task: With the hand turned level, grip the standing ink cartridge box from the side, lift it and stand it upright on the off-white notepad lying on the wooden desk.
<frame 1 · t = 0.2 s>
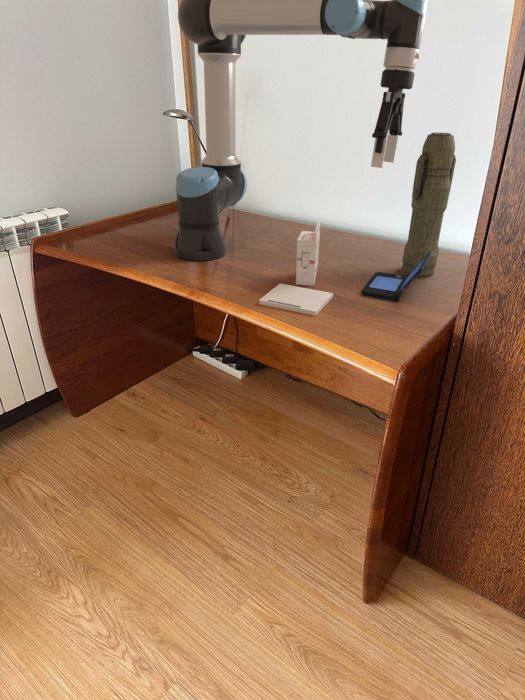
hand: (382, 164, 129), 27 cm above the table, tool pointing down, fingers open, 13 cm apart
handheld game console: (393, 291, 127), on the table
ink cartridge box: (306, 280, 132), on the table
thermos: (417, 272, 138), on the table
notepad: (296, 300, 119), on the table
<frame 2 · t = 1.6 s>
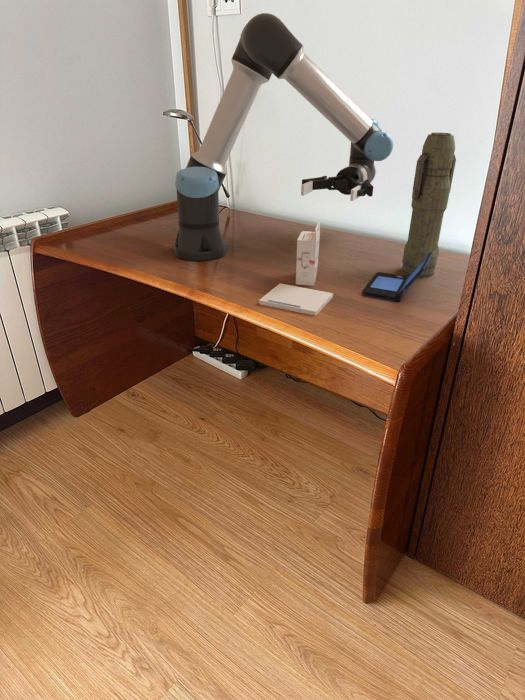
hand: (326, 192, 131), 20 cm above the table, tool horizontal, fingers open, 13 cm apart
nothing on the table moved.
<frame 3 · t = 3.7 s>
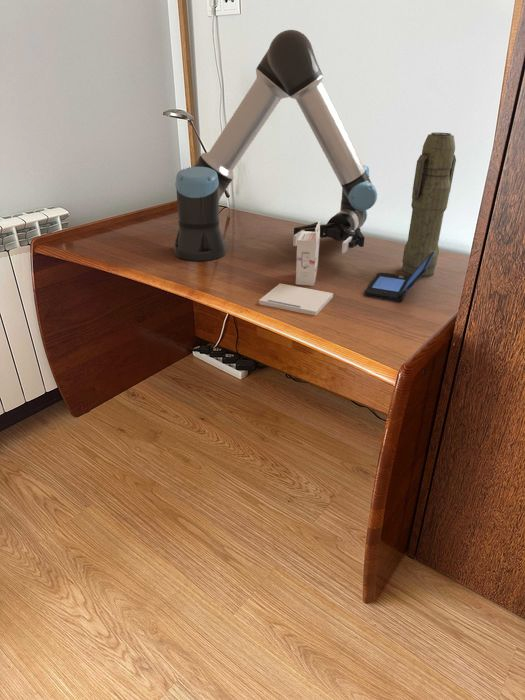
hand: (318, 244, 132), 8 cm above the table, tool horizontal, fingers open, 13 cm apart
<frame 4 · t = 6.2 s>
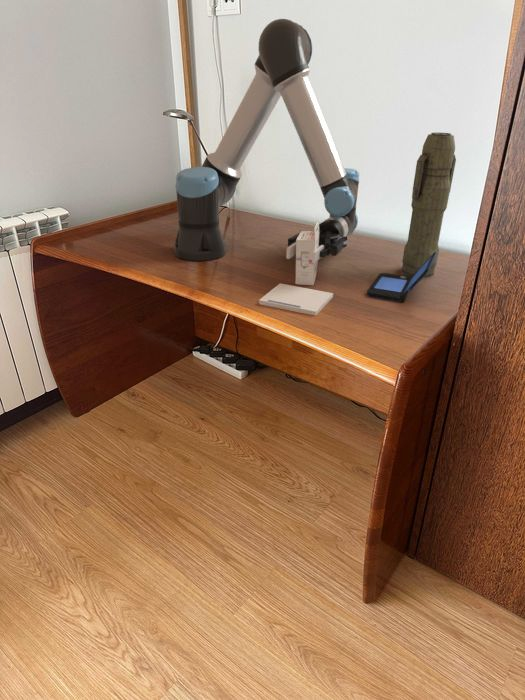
hand: (300, 255, 123), 8 cm above the table, tool horizontal, fingers closed on ink cartridge box, 6 cm apart
ink cartridge box: (306, 280, 131), on the table, touching gripper
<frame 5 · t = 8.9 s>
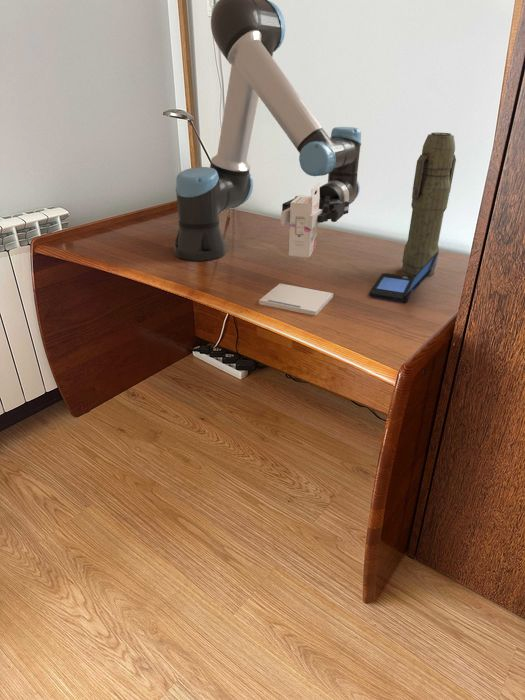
hand: (296, 220, 106), 20 cm above the table, tool horizontal, fingers closed on ink cartridge box, 6 cm apart
ink cartridge box: (302, 252, 115), point 11 cm above the table, touching gripper
when the fingers open (10 cm above the table, at t = 11.6 s): ink cartridge box drops 1 cm, resting on notepad.
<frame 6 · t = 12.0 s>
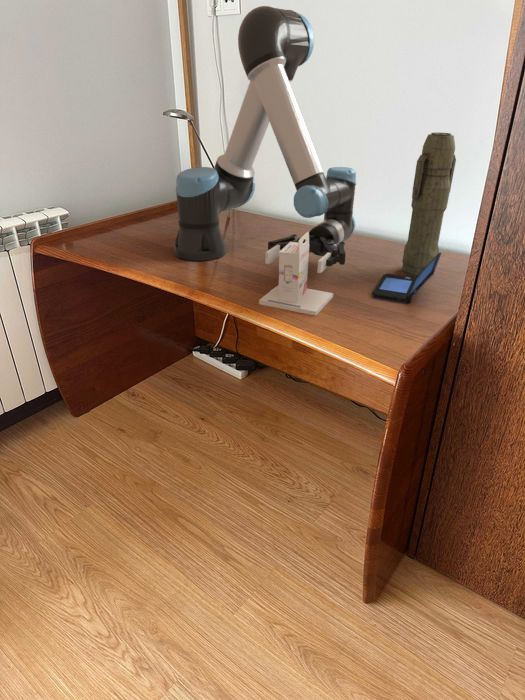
hand: (292, 262, 111), 10 cm above the table, tool horizontal, fingers open, 12 cm apart
ink cartridge box: (292, 296, 119), point 1 cm above the table, touching notepad
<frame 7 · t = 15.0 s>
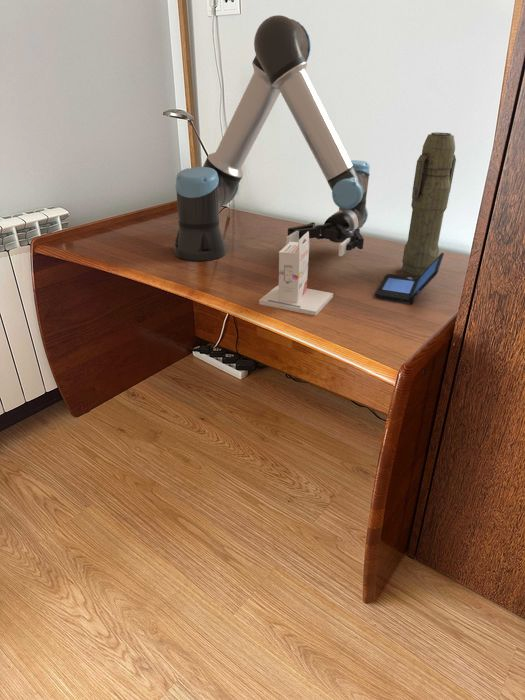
hand: (313, 246, 122), 11 cm above the table, tool horizontal, fingers open, 13 cm apart
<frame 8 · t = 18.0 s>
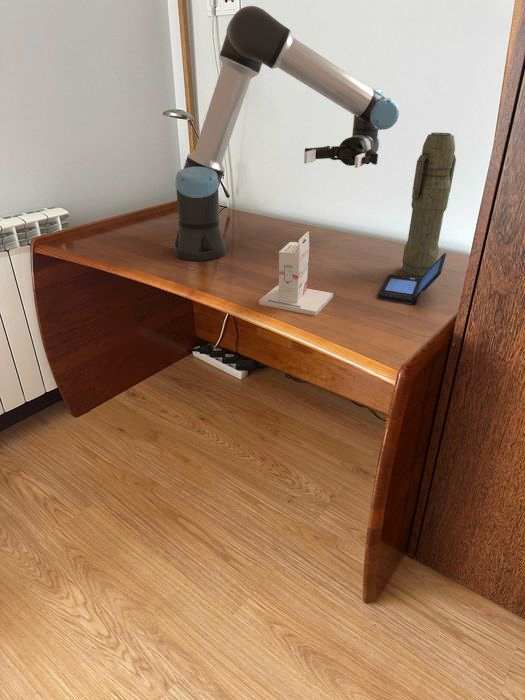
hand: (330, 160, 128), 28 cm above the table, tool horizontal, fingers open, 13 cm apart
at the end: ink cartridge box inside the target area on the notepad (1.2 cm from its centre), point 0.8 cm above the notepad's base; ink cartridge box tilted 0°; the gripper is holding nothing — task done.
